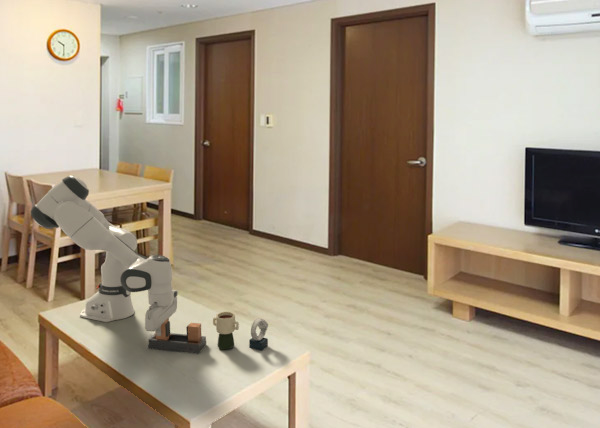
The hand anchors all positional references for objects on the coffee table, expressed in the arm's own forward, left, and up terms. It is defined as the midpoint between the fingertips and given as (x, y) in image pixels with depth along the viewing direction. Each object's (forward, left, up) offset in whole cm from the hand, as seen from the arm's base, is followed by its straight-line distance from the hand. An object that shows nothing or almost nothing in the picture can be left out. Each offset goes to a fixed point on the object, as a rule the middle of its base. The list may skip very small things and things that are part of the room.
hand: (162, 332), depth 193 cm
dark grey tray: (+6, 0, -5) cm, 8 cm away
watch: (+36, +6, -5) cm, 37 cm away
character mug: (+24, +3, -5) cm, 25 cm away
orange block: (0, 0, -3) cm, 3 cm away
